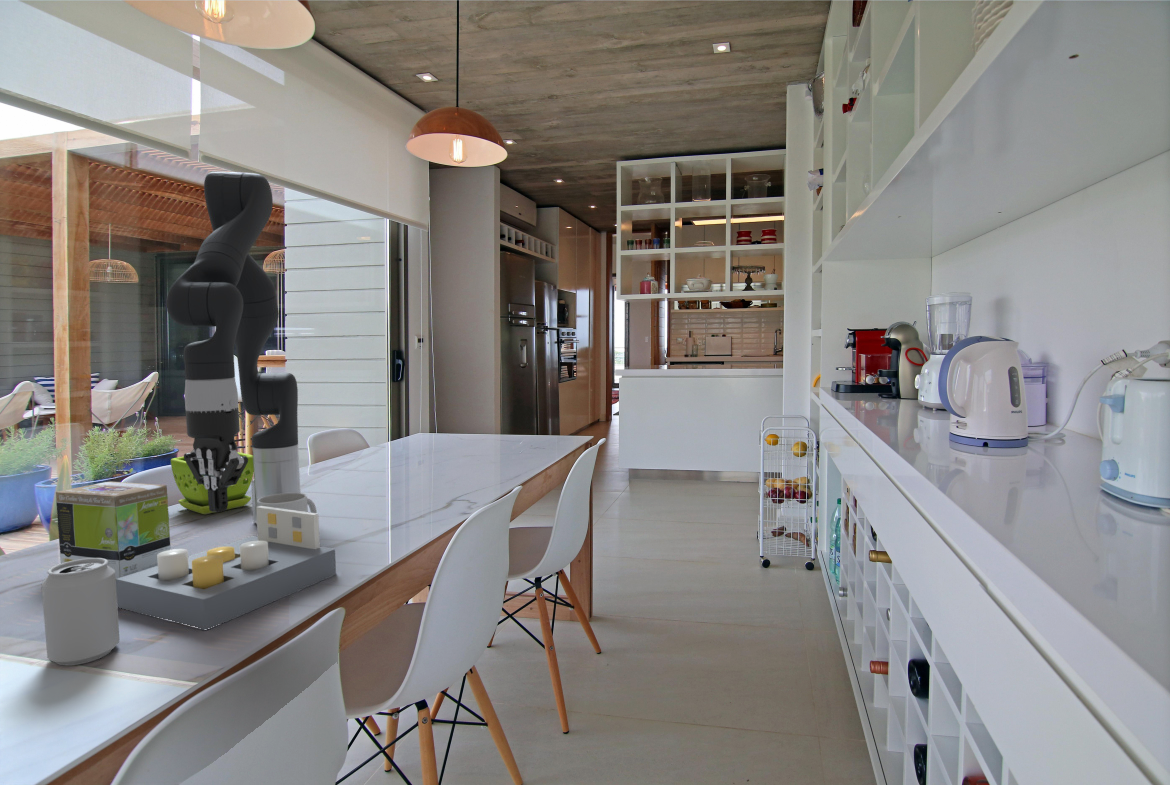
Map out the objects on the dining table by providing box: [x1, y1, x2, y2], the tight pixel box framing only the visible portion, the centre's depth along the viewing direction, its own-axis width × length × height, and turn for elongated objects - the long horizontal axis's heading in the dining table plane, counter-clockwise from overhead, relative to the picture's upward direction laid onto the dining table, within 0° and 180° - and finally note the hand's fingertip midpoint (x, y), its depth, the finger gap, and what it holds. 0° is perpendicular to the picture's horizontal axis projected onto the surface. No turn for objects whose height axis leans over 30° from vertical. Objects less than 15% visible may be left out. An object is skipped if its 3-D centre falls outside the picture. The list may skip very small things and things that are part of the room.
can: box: [41, 558, 120, 667], centre depth 85 cm, size 8×8×12 cm
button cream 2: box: [240, 540, 269, 571], centre depth 106 cm, size 4×4×5 cm
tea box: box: [55, 481, 172, 580], centre depth 118 cm, size 15×10×15 cm, turn 71°
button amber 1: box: [207, 546, 235, 563], centre depth 110 cm, size 4×4×5 cm
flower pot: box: [170, 451, 254, 516], centre depth 160 cm, size 14×14×13 cm
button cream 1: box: [157, 548, 189, 581], centre depth 102 cm, size 4×4×5 cm
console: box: [115, 506, 337, 630], centre depth 107 cm, size 20×24×10 cm
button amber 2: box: [192, 555, 224, 589], centre depth 99 cm, size 4×4×5 cm
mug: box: [257, 492, 318, 514], centre depth 129 cm, size 11×10×10 cm
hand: (218, 510), depth 109 cm, fingers closed
